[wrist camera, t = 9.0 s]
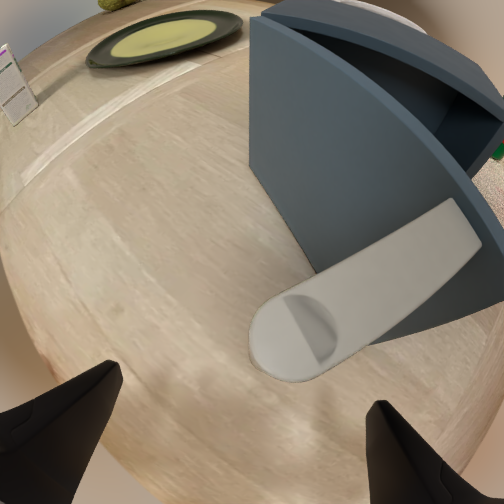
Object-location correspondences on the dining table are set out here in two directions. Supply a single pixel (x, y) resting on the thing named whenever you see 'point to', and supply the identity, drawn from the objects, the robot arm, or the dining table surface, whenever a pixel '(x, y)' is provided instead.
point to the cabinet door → (358, 211)
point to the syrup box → (14, 88)
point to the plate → (163, 37)
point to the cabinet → (409, 73)
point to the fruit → (114, 4)
